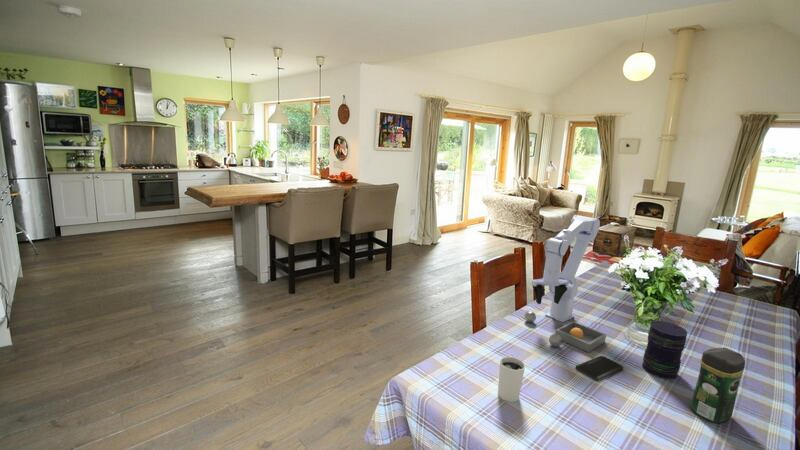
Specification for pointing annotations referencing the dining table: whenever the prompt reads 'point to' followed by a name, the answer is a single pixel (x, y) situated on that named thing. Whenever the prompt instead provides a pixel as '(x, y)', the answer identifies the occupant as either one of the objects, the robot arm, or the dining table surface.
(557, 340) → the steel ball
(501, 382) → the white cup
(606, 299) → the dining table surface
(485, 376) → the dining table surface
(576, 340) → the bin
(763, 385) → the dining table surface
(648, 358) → the storage jar
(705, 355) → the coffee jar
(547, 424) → the dining table surface
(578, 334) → the orange ball
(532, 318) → the steel ball
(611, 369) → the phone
